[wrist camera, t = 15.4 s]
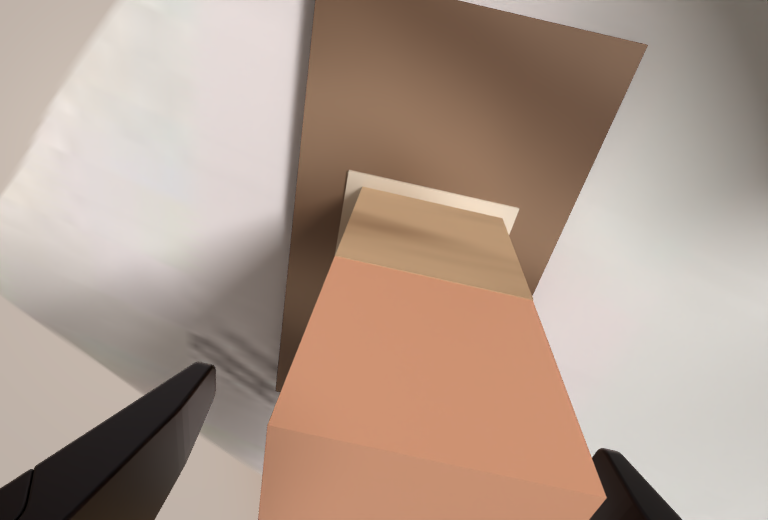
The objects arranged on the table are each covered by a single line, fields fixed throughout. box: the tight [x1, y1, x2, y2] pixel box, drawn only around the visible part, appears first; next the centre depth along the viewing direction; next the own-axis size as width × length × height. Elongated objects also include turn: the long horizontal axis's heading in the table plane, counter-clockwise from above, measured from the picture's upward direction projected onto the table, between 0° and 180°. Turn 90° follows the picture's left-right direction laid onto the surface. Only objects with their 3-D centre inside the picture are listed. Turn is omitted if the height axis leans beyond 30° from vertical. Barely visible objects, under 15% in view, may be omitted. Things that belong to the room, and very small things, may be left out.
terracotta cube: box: [258, 256, 607, 520], centre depth 9 cm, size 5×5×5 cm
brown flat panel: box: [276, 0, 648, 392], centre depth 16 cm, size 17×10×1 cm, turn 169°
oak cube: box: [335, 187, 533, 301], centre depth 14 cm, size 5×5×5 cm
